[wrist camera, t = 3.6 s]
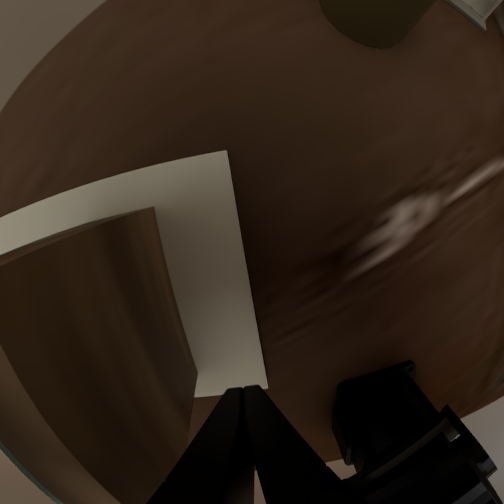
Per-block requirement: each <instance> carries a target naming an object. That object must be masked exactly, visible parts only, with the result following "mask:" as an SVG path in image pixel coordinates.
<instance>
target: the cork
mask: <svg viewBox="0 0 504 504" xmlns="http://www.w3.org/2000/svg"><path fill="white" fill-rule="evenodd" d="M435 1H436V0H320V4H321V8H322V11H323V12H324V14H325V15H326V17H327V19H328V20H329V22H331V23H332V24H333V25H334V26H335V27H336V28H337V29H338V30H339V31H340V32H341V33H343V34H345V35H346V36H348V37H349V38H351V39H352V40H354V41H356V42H359V43H361V44H364V45H366V46H369V47H375V48H380V49H381V48H389V47H393V46H394V45H396V44H398V43H399V42H400V41H401V40H402V39H403V38H404V36H405V35H406V34H407V33H408V32H409V31H410V30H411V28H412V27H413V26H414V25H415V24H416V23H417V22H418V20H419V19H420V18H421V17H422V16H423V15H424V14H425V13H426V11H427V10H428V9H429V8H430V7H431V6H432V5H433V4H434V3H435Z"/></svg>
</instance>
